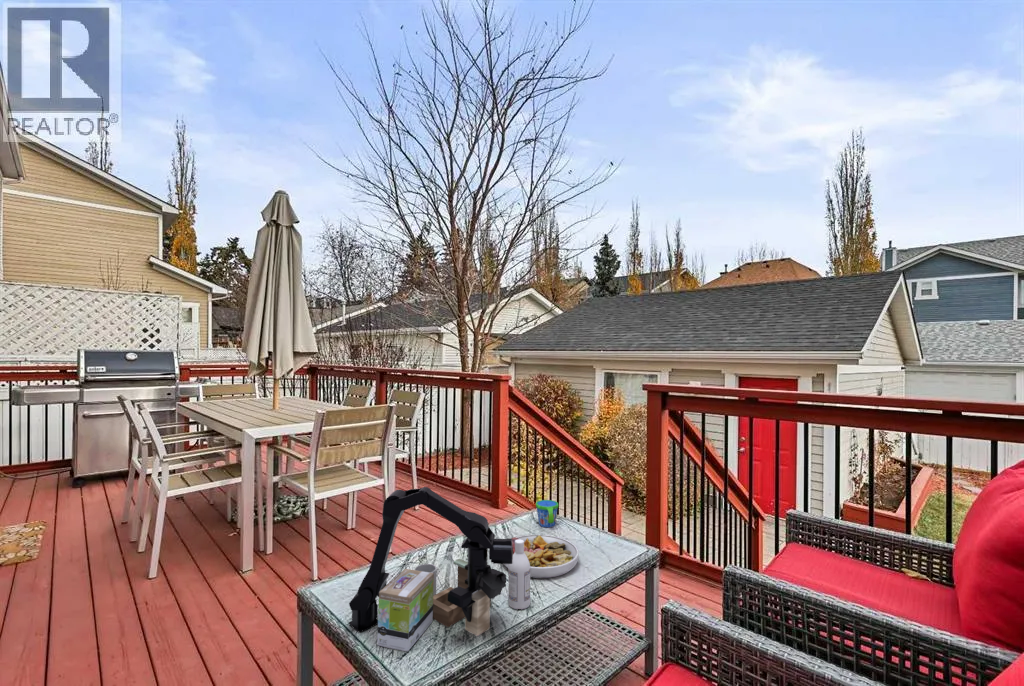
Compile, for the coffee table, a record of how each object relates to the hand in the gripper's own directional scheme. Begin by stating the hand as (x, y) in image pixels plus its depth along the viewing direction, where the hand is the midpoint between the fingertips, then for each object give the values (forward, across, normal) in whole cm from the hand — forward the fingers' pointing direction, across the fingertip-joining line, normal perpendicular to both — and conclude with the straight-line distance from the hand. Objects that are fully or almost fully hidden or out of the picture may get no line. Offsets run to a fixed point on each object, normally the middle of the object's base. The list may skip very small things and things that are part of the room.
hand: (477, 616), depth 133 cm
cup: (+4, +2, +27) cm, 27 cm away
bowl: (+4, +46, +12) cm, 48 cm away
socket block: (+4, +3, +12) cm, 13 cm away
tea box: (+4, -15, +14) cm, 21 cm away
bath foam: (+4, +18, -1) cm, 18 cm away
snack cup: (+4, +79, +32) cm, 85 cm away
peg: (+4, 0, 0) cm, 4 cm away
